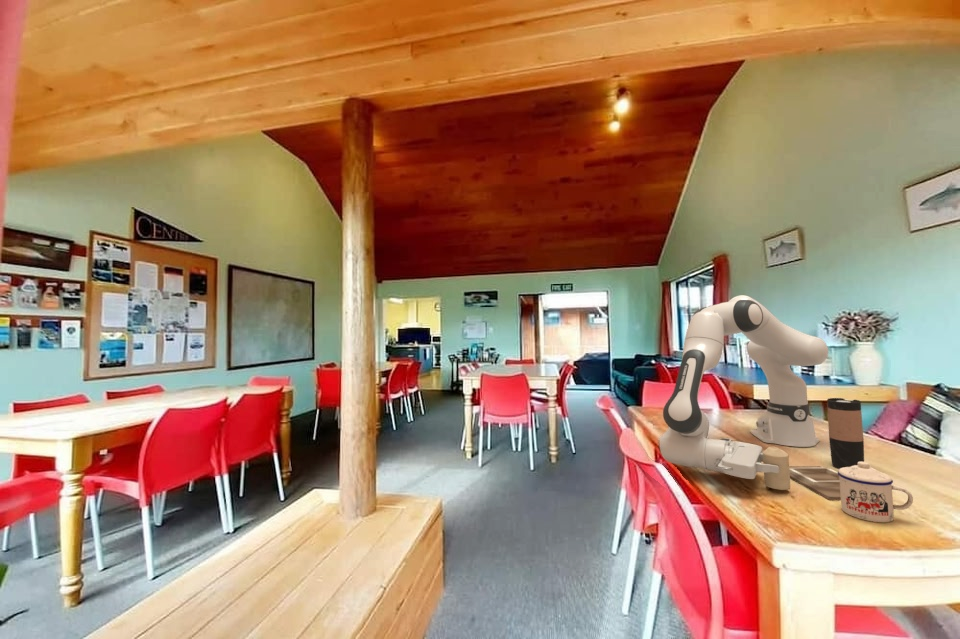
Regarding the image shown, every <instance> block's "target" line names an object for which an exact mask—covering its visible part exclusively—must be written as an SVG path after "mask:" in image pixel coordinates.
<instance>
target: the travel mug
mask: <svg viewBox="0 0 960 639" xmlns="http://www.w3.org/2000/svg"><path fill="white" fill-rule="evenodd" d="M826 401H827V403H826V404H827V405H826V406H827V422H828V424H827V425H828V439H829V449H830V458H831V459H830V460H831V465H832V467H834V468H836V469H838V470H839V469H840V468H843V467H851V466H854V465H858V462H865V442H864V431H863V430H864V427H863V418H862V416H863V415H862V405H861V404H862V402H861V401H860V400H858V399H853V400H846V399H845V398H841V397H838V398H837V397H833V398H832V397H830V398H827V400H826Z"/></svg>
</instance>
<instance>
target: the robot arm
mask: <svg viewBox="0 0 960 639" xmlns="http://www.w3.org/2000/svg"><path fill="white" fill-rule="evenodd" d="M741 333H742V334H743V335H744V336H745V337H746V338H747V339H748V340H749V342H748V344H747V346H746V351H747V355H748V357H749V358H750V359H751V360H752V361H754V362H755V363H756V364H757V365H758V367H760V369H761V370H762V371H763V374H764V375H765V378H766V381H767V388H768V395H769V396H768V397H769V401H767V402H766V404H765V405H766V406H767V407H766V412H764V413H763V414H762V415H760V416H759V417H758V418H757V420H756V422H755V426H756V428H754V429H750V430H749V433H750V434H752V435H753V436H755V438H758V440H759V441H761V442H763V443H769V444H775V445H781V446H785V447H786V446H787V447H788V446H789V447H798V448H799V447H800V448H801V447H802V448H803V447H804V448H806V447H807V448H809V447H815V446H817V443H820V438H818V437H817V434H816V429H815V423H814V419H813V418H812V417H811V416H810V414H811V411H810V410H811V407H810V404H809V403H808V390H807V389H808V388H807V383H806V381H805V380H804V379H803V378H802V377H800V376H798V375H797V374H795V373H794V371H793V370H792V369H791V366H794V367H810V366H818V365H822V364H823V363H824V362H825V361H826V360H827V358H828V355H829V348H828V345H827V343H826V342H825V341H824V340H823V339H822V338H821V337H817V336H814V335H810V334H808V333H804V332H802V331H800V330H798V329H796V328H793V327H791V326H789V325H787V324H785V323H784V322H781V320H779V319H778V318H777V317H776V316H775V315H774V314H772V312H770V310H768V308H766V307H765V306H764V305H763V304H761V303H760V302H759V301H758V300H756V299H754V298H753V297H751V296H748V295H743V294H742V295H741V294H739V295H736V296H734V297H732V298H731V299H730V300H729V301H726V302H720V303H717V304H713V305H710V306H703V307H701V308H699V309H697V310H696V311H694V313H693V314H692V317H691V319H690V321H689V324H688V326H687V329H686V333H685V336H684V342H683V350H682V357H681V362H680V366H679V369H678V373H677V377H676V381H675V386H674V389H673V392H672V394H671V396H670V397H669V399H668V400H667V402H665V405H664V407H663V409H662V416H663V420H664V422H665V423H666V425H667V428H666V430H665V431H664V433H662V434H661V435H660V436H659V437H658V448H659V451H660V454H661V457H663V459H664V460H665V461H667V462H668V463H671V464H673V465H679V466H682V467H687V468H700V469H703V470H706V471H712V472H716V473H721V474H726V475H727V476H729V475H730V476H732V477H733V476H734V477H736V478H742V479H747V480H754V479H755V478H756V476H757V474H758V473H762V474H764V473H766V472H773V473H779V465H776V464H763V451H764V450H763V447H762V446H761V445H757V444H755V443H753V444H752V443H749V442H743V441H736V440H735V441H734V440H733V441H732V439H731V438H727V437H723V438H720V439H719V438H718V439H712V438H708V435H709V432H710V420H709V418H708V416H707V415H706V414H705V412H704V411H703V410H702V409H701V407H700V404H699V401H698V400H699V399H698V397H699V392H700V388H701V384H702V379H703V375H704V373H705V372H706V371H710V370H713V369H715V368H716V367H718V365H719V362H720V360H721V358H722V353H723V351H724V350H723V348H724V338H725V336H730V335H731V336H732V335H735V334H741Z"/></svg>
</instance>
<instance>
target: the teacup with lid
mask: <svg viewBox="0 0 960 639" xmlns="http://www.w3.org/2000/svg"><path fill="white" fill-rule="evenodd" d="M837 472H838V475H839V479H840V494H841V500H840V507H841V509H842V511H843V513H846V514H847V515H849V516H851V517H853V518H856V519H859V520H864V521H867V522H872V521H873V522H874V523H890V522H893V520H894V519H895V514H894V510H898V511H900V510H906V509H908V508H910V507H911V506H912V504H913V503H914V496H913V495H912V493H911V492H910V491H909V490H908V489H907V488H904V487H902V486H899V485H893V483H894V480H893V478H892V477H891V476H890V475H889V474H887V473H885V472H881V471H879V470H878V469H875V468H873V467H872V466H871V465H870V463H869V462H866V461H864V462H858V465H854V466H851V467H843V468H840V469H838V471H837ZM893 490H895V491H899V492H902V493H904V494H906V495H907V500H906V501H905V503H903V504H902V505H901V504H894V500H893V499H894V497H893Z"/></svg>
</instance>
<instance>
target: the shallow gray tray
mask: <svg viewBox="0 0 960 639" xmlns="http://www.w3.org/2000/svg"><path fill="white" fill-rule="evenodd" d="M789 472H790V480H792V481H794V482H795V483H798V484H800V485H801V486H803V487H805V488H806V489H808V490H810V491H812V492H813V493H815V494H817V495H819V496H821V497H823V498H824V499H826V500H828V501H841V494H840V479H839V475H838V471H836V470H834V469H832V468H830V467H828V466H826V467H825V466H824V467H823V466H821V465H800V466H799V465H797V466H796V465H795V466H792V465H791V466H790V465H789Z"/></svg>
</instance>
